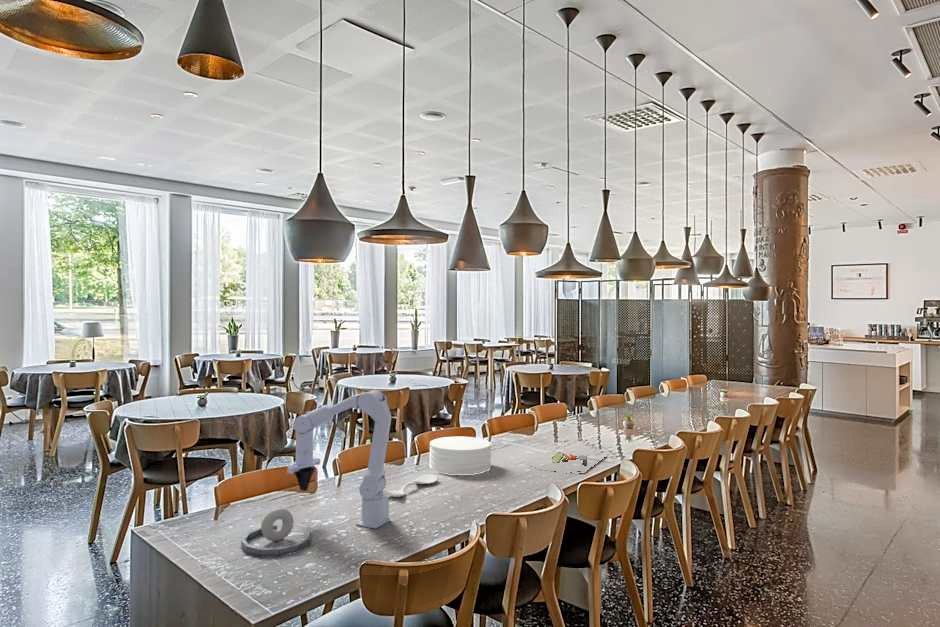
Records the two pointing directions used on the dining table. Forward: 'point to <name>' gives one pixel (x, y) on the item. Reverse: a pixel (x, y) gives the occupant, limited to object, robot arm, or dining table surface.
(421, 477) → the spoon
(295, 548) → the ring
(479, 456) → the plate stack
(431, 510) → the dining table surface
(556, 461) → the green red elongated piece
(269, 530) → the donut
